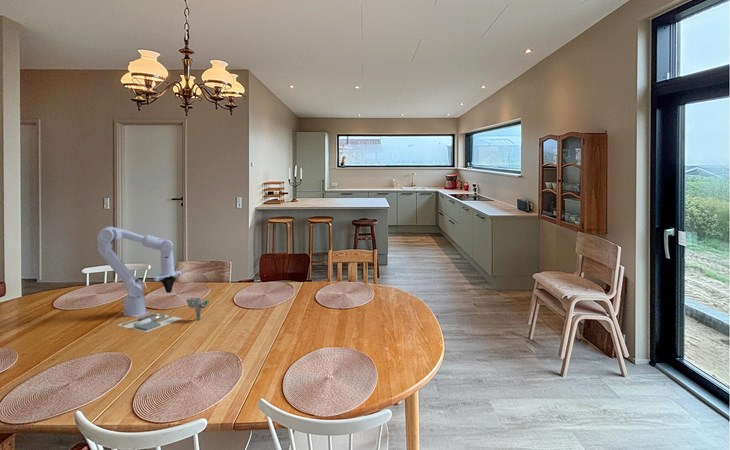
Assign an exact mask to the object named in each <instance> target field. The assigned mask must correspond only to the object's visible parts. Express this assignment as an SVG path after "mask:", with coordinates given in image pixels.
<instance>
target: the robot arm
mask: <svg viewBox="0 0 730 450" xmlns="http://www.w3.org/2000/svg"><path fill="white" fill-rule="evenodd" d="M121 239H125V240H126V239H127V240H129V241H134V242H138V243H141V244H142V245H143V247H146V248H149V249H152V250H156V251H159V252H160V271H161V273H160V274H158V275H155V276H153V281H154V282H159V281H160V282H161V283H162V285H163V287H164V290H165V292H166V293H172V291H173V286H174V284H175V282H176V280H177V278H176V277H177V276H182V270H176V271H175V260H174V251H173V250H174V249H173V248H174V244H173V242H172V241H171V240H170V239H167V238H166V239H165V238H163V237H162V238H160V237H156V236H155V235H154V234H146V235H141V234H139V233H135V232H133V231H130V230H127V229H124V228H120V227H114V226H111V225H107V226H106V227H104V228H102V229H101V230H99V231H98V234H97V236H96V240H97V251H98V253H99V254H100V255H101V257H102V258H103V259H104V260H105V261H106V263H107V264H108V265H109V267H111V269H112V270H113V271H114V273H115V274H116V276H117V277H119V279H120V280H121V281H122V284H123V286H124V288H125V289H126V293H127V295H126V296H125V297H124V298H123V302H122V303H123V313H122V315H124V316H126V317H127V316H128V317H132V318H139V317H142V316H145V315H148V314H151V311H149V310H146V309H147V308H146V294H145V292H144V289H145V283H144V282H143V281H142V280H139V278H137V277H136V276H135V275H133V273H132V272H131V271H130V269H129V268H128V267H127V266H126V265H125V263H124V262H123V261H122V259H121V258H120V257H119V256H118V255H117V253H116V252H115V251H114V249H113V244H114V241H115V240H121Z"/></svg>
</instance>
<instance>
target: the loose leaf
mask: <svg viewBox="0 0 730 450" xmlns="http://www.w3.org/2000/svg"><path fill="white" fill-rule="evenodd" d="M150 314H151V313H150ZM159 314H160V315H155V314H151V315H148V314H147V315H148V316H145V315H144V316H145V317H142V316H141V317H142V318H140V317H138V318H139V321H142V320H145V319H148V318H150V319H151V322H154V321H157V320H160V319H162V318H165V315H166V314H165V313H159Z"/></svg>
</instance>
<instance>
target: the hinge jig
mask: <svg viewBox="0 0 730 450" xmlns="http://www.w3.org/2000/svg"><path fill="white" fill-rule="evenodd" d="M151 314H155V315H160V314H161V313H158V312H152V313H151V312H150V313H147V314H144V315H141V316H139V317H136V318H135V319H131V320H129V321H125V322H121V323H119V324H117V325H116V326H118V327H121V328H122V327H123V328H127V329H131V330H136V331H139V332H140V331H141V332H144V333H147V332H150V331H153V330H157V329H159V328H162V327H164V326H167V325H169V324H172V323H174V322H177V321H180V320H182V319H183V317H182V318H181V317H177V316H173V315H167V314H164V315H165V318H162V319H160V320H157V321H154V322H151V319H150V318H148V319H145V320H142V321H139V318H142V317H145V316H148V315H151Z"/></svg>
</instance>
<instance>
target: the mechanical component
mask: <svg viewBox="0 0 730 450" xmlns="http://www.w3.org/2000/svg"><path fill="white" fill-rule="evenodd" d="M186 303H187V307H188V308H190V309H195V310H194V312H195V313H196V315H195V316H196V321H200V320H201V311H202V309H206V308H207V307H208V305H209V303H210V302H209V300H208V299H204V300H202V298H195V297H190V298H187V299H186Z"/></svg>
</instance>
